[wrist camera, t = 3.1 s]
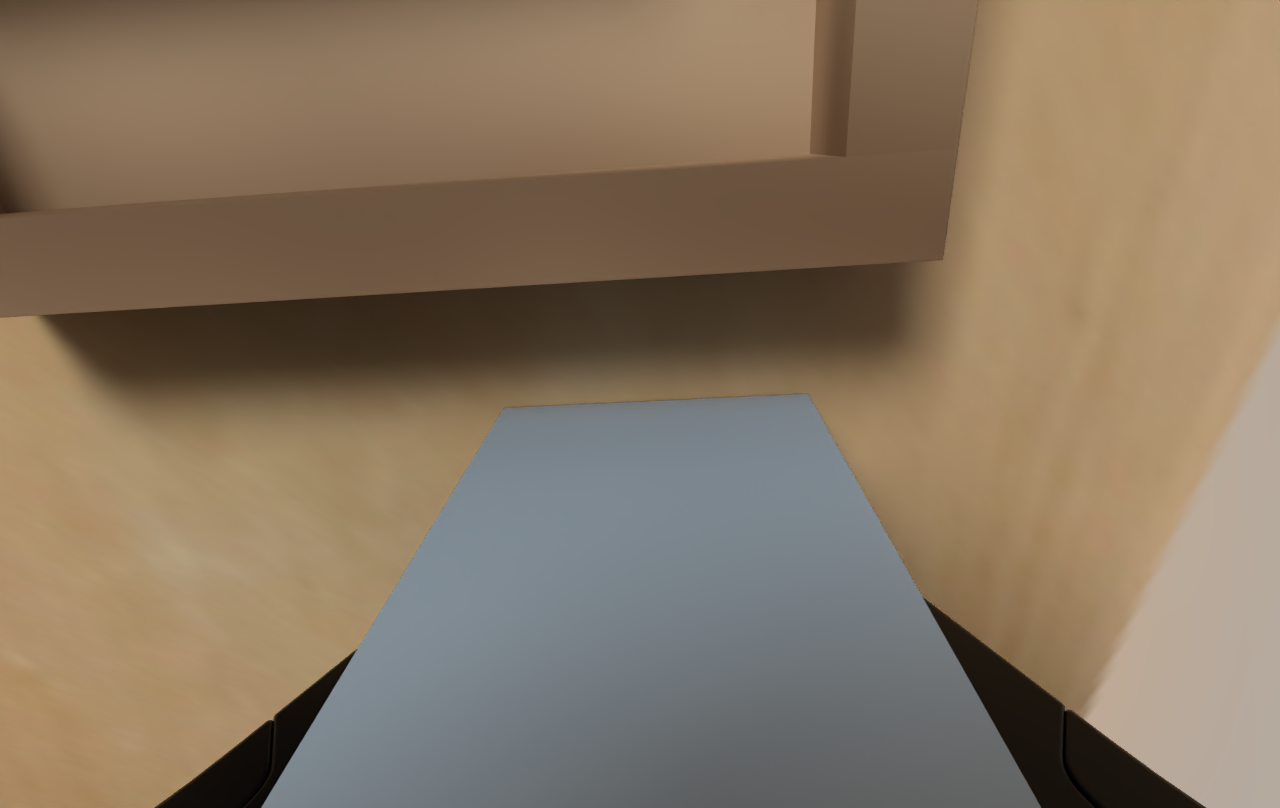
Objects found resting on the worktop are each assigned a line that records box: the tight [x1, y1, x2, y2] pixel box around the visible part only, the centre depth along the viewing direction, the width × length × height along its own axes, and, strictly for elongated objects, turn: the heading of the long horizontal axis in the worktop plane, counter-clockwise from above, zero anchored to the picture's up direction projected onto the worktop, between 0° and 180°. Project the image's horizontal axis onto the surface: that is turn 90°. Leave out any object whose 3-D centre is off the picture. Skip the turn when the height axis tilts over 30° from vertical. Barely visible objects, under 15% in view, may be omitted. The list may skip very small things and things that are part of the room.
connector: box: [261, 394, 1041, 808], centre depth 6 cm, size 4×4×8 cm
